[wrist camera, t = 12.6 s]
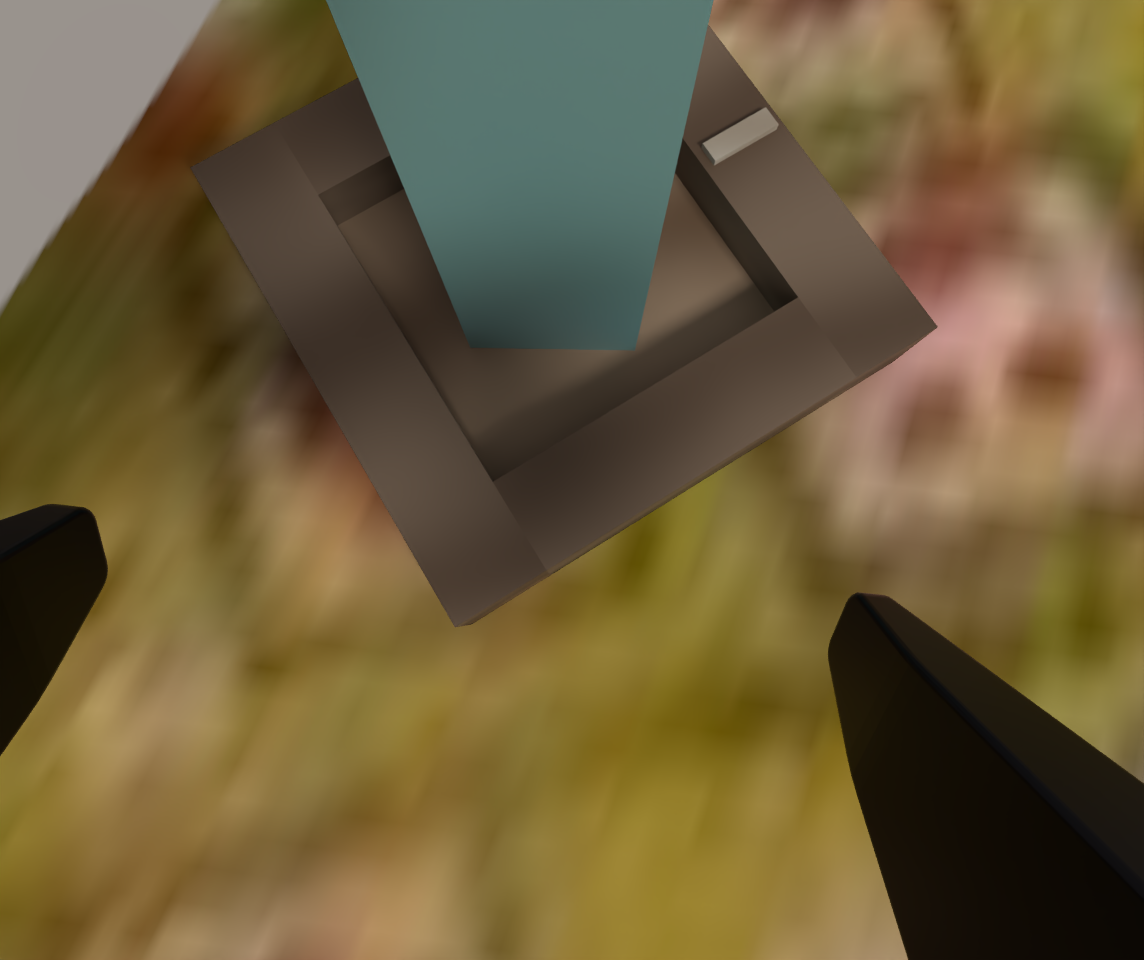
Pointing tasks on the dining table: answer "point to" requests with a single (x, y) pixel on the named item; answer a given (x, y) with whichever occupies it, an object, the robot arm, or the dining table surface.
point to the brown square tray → (560, 376)
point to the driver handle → (534, 151)
